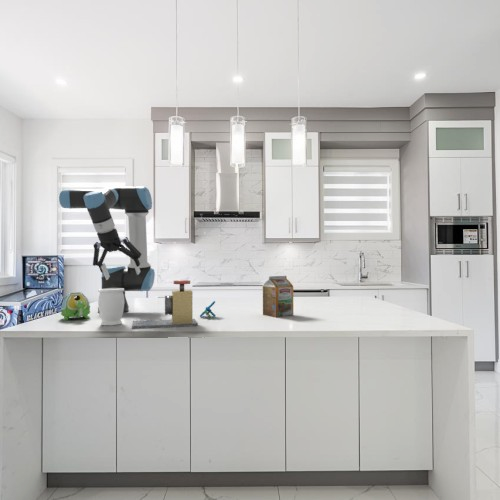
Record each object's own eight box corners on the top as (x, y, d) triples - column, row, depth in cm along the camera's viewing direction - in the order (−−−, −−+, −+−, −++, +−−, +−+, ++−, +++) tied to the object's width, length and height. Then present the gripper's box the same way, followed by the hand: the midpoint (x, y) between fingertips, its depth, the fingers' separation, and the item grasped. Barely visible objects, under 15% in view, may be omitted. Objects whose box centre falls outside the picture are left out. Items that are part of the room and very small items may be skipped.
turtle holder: (65, 323, 168) (65, 295, 168) (58, 318, 183) (58, 292, 183) (95, 320, 175) (95, 294, 175) (86, 315, 190) (86, 291, 190)
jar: (115, 326, 159) (115, 289, 159) (93, 325, 161) (93, 289, 162) (128, 322, 170) (129, 287, 170) (107, 321, 172) (107, 287, 172)
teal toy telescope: (201, 311, 191) (215, 297, 189) (210, 320, 191) (224, 306, 189) (195, 318, 180) (210, 303, 178) (204, 327, 180) (219, 312, 178)
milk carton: (275, 317, 182) (275, 276, 183) (262, 314, 191) (262, 275, 191) (293, 315, 188) (293, 276, 188) (280, 313, 197) (279, 275, 197)
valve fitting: (133, 323, 167) (133, 280, 167) (194, 320, 173) (194, 279, 174) (131, 328, 154) (132, 282, 155) (197, 325, 161) (197, 281, 161)
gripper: (72, 238, 153) (92, 284, 162) (133, 227, 151) (149, 275, 160) (80, 231, 160) (98, 276, 169) (138, 220, 158) (153, 266, 166)
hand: (123, 275), depth 164 cm, fingers open, 13 cm apart
